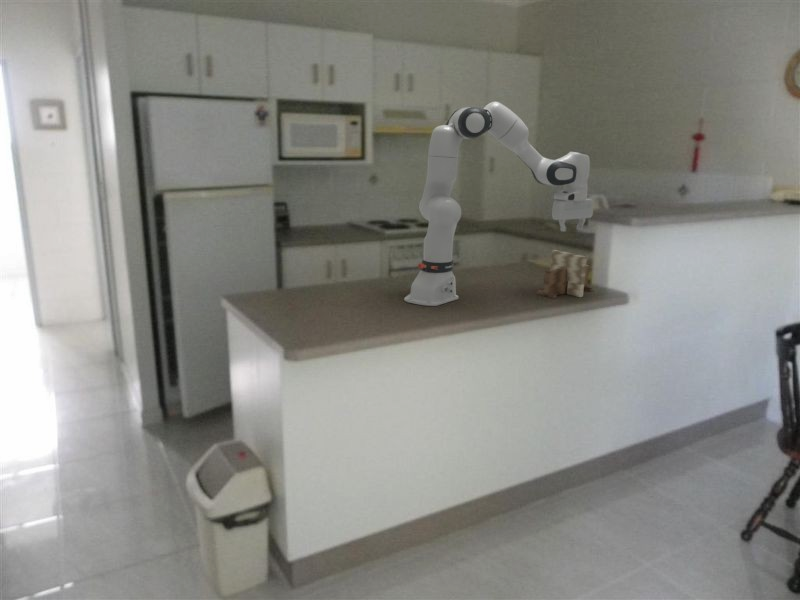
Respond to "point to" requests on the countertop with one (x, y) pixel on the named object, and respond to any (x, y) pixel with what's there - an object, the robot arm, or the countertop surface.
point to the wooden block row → (559, 283)
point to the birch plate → (571, 270)
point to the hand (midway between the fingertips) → (571, 230)
